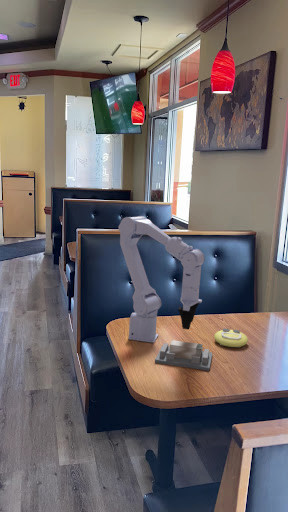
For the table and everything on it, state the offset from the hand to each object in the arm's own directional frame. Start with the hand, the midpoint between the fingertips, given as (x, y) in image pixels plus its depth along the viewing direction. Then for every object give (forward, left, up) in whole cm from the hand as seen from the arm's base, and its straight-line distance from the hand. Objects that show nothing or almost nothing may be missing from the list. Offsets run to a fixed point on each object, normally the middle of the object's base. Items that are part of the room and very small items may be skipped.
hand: (187, 325), depth 142 cm
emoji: (+15, +12, -9) cm, 21 cm away
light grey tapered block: (+1, -8, -8) cm, 11 cm away
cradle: (+1, -8, -9) cm, 12 cm away
